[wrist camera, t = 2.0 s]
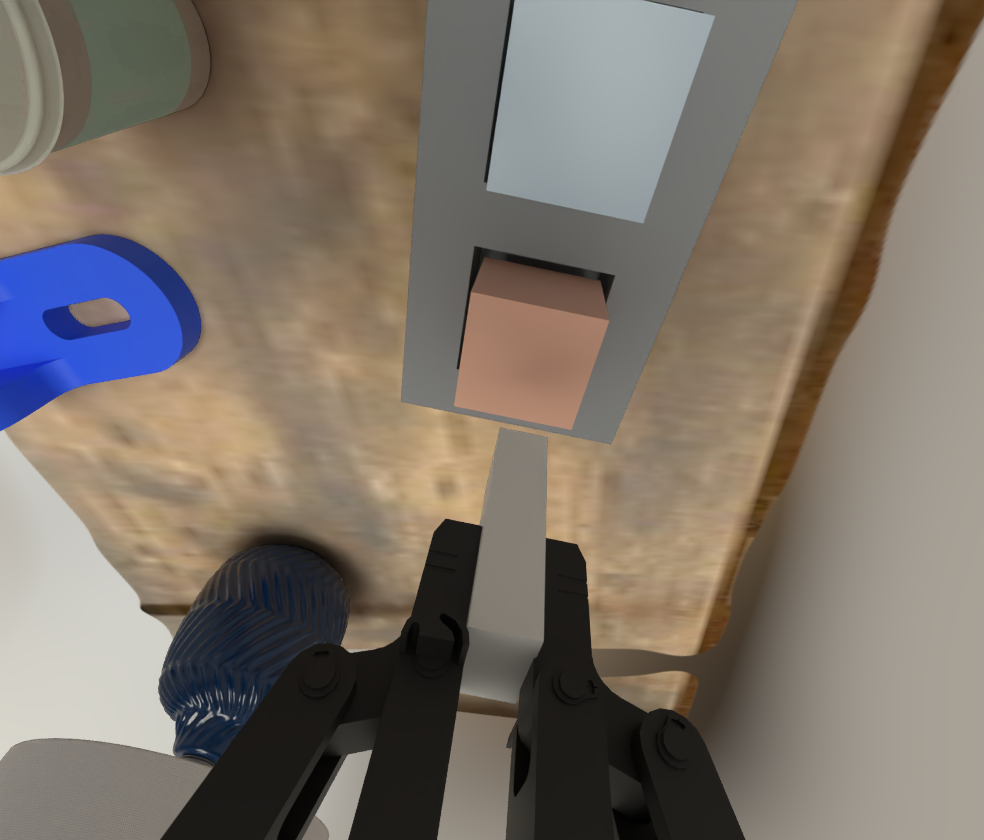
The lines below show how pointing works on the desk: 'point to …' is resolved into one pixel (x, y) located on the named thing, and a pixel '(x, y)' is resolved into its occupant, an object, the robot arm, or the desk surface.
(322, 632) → the lamp
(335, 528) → the desk surface
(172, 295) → the bracket
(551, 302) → the terracotta key
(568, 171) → the slate key
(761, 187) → the desk surface
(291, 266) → the desk surface
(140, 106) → the coffee cup
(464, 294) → the grey socket block
